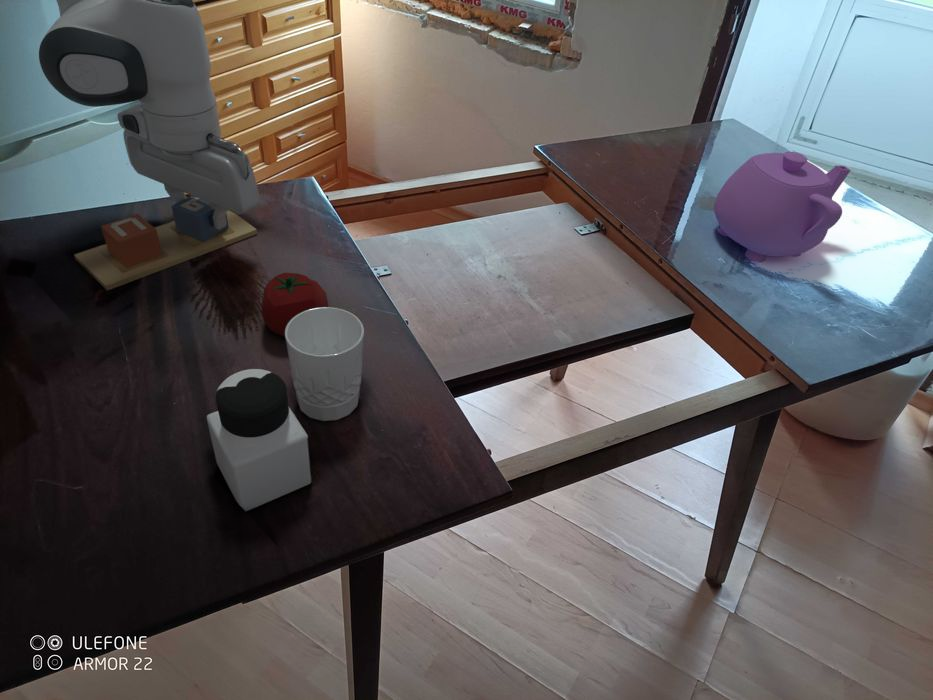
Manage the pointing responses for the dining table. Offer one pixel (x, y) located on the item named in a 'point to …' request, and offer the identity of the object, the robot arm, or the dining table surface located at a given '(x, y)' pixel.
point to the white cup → (326, 361)
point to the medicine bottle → (258, 438)
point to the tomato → (290, 299)
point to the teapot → (779, 205)
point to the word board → (173, 252)
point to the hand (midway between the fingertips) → (201, 219)
